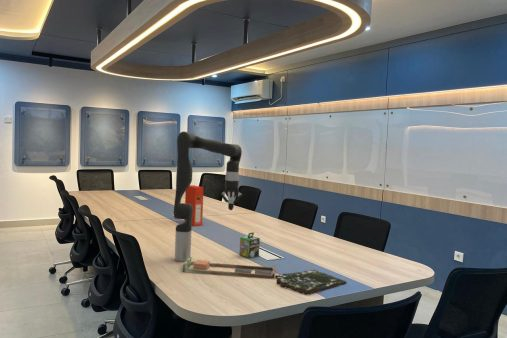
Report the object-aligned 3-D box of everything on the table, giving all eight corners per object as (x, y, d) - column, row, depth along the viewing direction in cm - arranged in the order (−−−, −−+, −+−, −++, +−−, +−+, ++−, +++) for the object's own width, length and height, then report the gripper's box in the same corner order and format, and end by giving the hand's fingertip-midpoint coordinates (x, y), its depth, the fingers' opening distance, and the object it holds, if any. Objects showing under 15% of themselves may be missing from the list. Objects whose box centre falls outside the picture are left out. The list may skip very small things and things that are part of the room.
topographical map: (346, 284, 207) (346, 278, 207) (302, 297, 186) (302, 291, 186) (309, 270, 227) (309, 265, 226) (266, 281, 206) (266, 275, 206)
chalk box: (249, 252, 256) (250, 230, 255) (259, 256, 250) (260, 232, 249) (238, 255, 250) (239, 231, 249) (248, 258, 243) (250, 234, 242)
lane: (189, 264, 226) (189, 257, 226) (274, 270, 223) (275, 263, 223) (182, 272, 212) (182, 264, 212) (274, 278, 208) (274, 271, 208)
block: (197, 266, 223) (197, 259, 223) (209, 268, 222) (209, 261, 222) (193, 270, 216) (193, 263, 216) (206, 271, 215) (206, 264, 215)
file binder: (193, 226, 327) (195, 187, 325) (184, 222, 341) (185, 185, 339) (202, 225, 332) (203, 187, 330) (192, 221, 346) (194, 185, 344)
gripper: (244, 179, 228) (243, 209, 229) (221, 178, 229) (220, 208, 230) (243, 180, 220) (241, 211, 221) (219, 179, 221) (218, 210, 222)
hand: (230, 209), depth 226 cm, fingers closed
